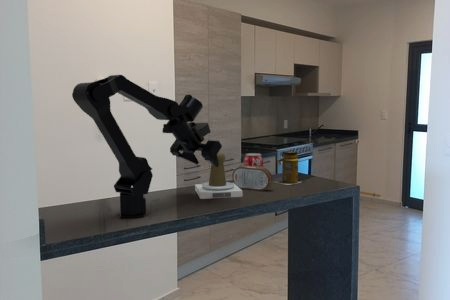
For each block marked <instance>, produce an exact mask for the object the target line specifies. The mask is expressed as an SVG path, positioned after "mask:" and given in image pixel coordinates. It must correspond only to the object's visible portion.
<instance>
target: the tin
mask: <svg viewBox="0 0 450 300" xmlns="http://www.w3.org/2000/svg"><path fill="white" fill-rule="evenodd" d="M231 174H232V175H231V178H232V183H234V184H235V185H237V186H238V187H239V188H240V189H241V190H242V189H243V190H249V191H250V190H251V191H259V192H263V191H265V190H268V189H269V188H271V186H272V184H273V180H274V178H273V175H272V173H271V171H270V170H269V169H268V168H267V167H264V166H263V167H257V166H246V165H244V164H242V165H240V166H238V167H236V168H235V169H234V170H233V171H232V173H231Z"/></svg>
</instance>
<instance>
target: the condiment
mask: <svg viewBox="0 0 450 300" xmlns="http://www.w3.org/2000/svg"><path fill="white" fill-rule="evenodd" d="M282 157H283V158H282V161H281V162H282V163H281V164H282V165H281V166H282V167H281V169H282V170H281V171H282V173H281V174H282V175H281V180H278V181H275V183H276V184H279V185H280V184H281V185H287V186H291V185H296V184H301V183H302V181H299V159H298V152H297V151H294V150H293V151H290V150H289V151H283V156H282Z"/></svg>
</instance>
